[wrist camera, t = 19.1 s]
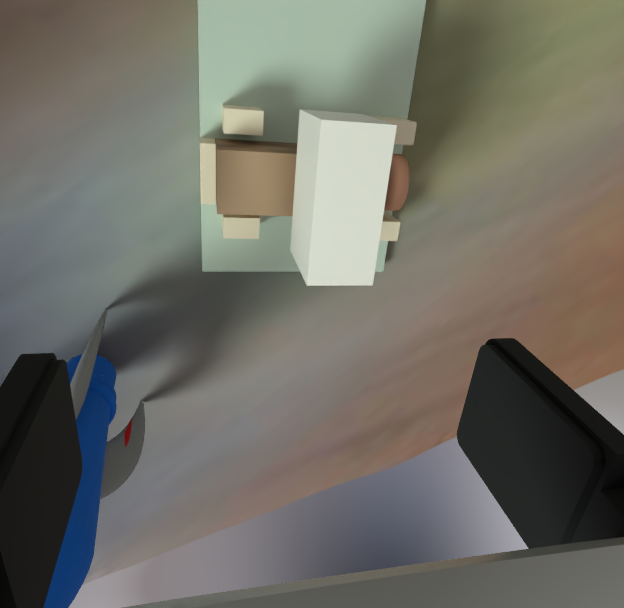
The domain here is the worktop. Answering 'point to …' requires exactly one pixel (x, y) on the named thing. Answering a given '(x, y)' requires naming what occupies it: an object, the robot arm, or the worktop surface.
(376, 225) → the white rectangular brick
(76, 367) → the toy rocket
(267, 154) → the brown block
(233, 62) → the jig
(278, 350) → the worktop surface
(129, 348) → the worktop surface
